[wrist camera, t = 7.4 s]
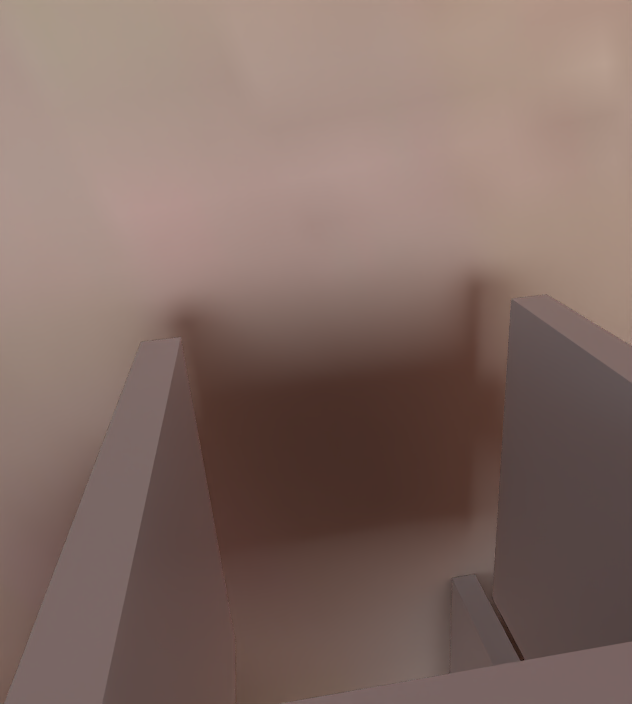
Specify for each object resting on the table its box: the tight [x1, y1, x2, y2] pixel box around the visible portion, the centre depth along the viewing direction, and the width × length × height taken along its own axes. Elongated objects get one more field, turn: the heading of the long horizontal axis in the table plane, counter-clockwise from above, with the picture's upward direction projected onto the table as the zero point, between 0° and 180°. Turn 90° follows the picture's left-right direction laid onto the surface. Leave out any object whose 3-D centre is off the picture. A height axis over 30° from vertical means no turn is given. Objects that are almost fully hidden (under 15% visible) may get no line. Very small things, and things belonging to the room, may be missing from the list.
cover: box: [4, 294, 632, 704], centre depth 10 cm, size 9×9×9 cm
